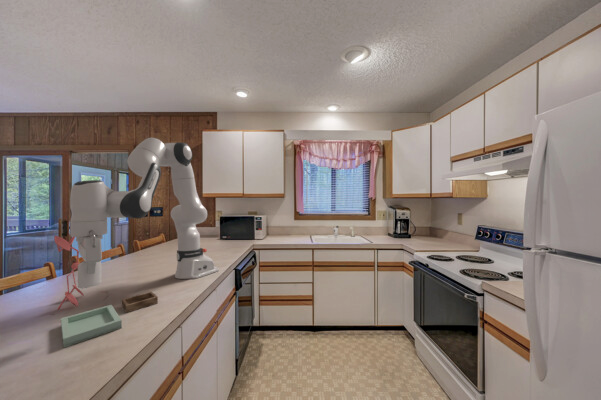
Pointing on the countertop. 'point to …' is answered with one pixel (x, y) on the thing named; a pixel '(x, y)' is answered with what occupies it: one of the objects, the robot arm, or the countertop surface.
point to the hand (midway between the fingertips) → (90, 272)
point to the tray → (89, 325)
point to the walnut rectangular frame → (139, 301)
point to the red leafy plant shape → (66, 246)
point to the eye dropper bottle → (88, 275)
